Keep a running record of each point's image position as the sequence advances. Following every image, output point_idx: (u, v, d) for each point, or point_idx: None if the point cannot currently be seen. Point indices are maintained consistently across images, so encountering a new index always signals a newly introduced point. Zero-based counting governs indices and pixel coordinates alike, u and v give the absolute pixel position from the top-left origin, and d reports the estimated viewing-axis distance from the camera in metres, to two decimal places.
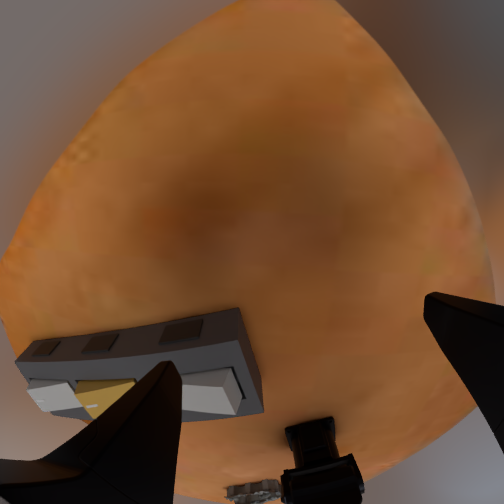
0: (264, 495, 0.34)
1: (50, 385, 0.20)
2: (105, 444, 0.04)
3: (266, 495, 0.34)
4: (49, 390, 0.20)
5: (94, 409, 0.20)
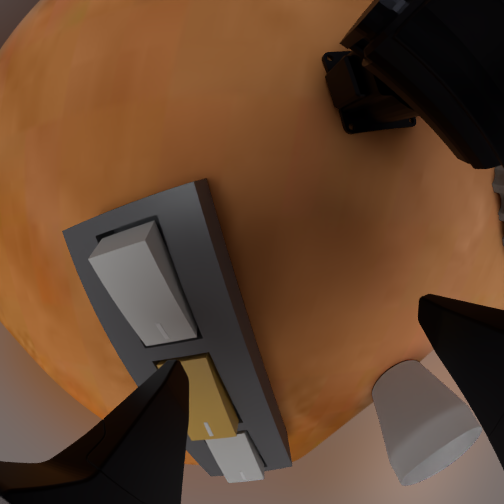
0: None
1: (214, 456, 0.19)
2: (114, 445, 0.04)
3: None
4: (222, 460, 0.19)
5: (215, 428, 0.17)
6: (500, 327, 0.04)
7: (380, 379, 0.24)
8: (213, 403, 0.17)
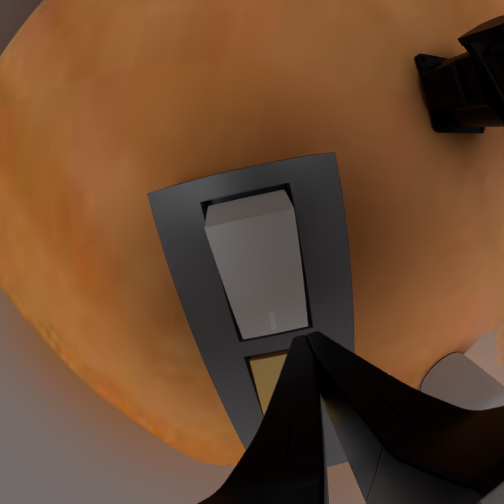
0: None
1: None
2: (314, 431, 0.04)
3: None
4: None
5: None
6: (356, 398, 0.04)
7: (432, 370, 0.22)
8: None
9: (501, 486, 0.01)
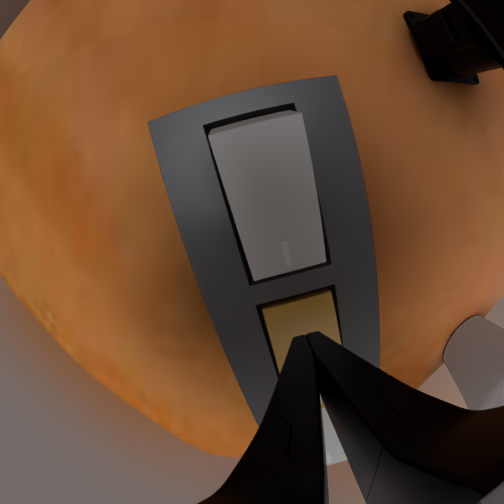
0: None
1: None
2: (314, 431, 0.04)
3: None
4: None
5: None
6: (356, 398, 0.04)
7: (454, 335, 0.21)
8: None
9: (501, 486, 0.01)
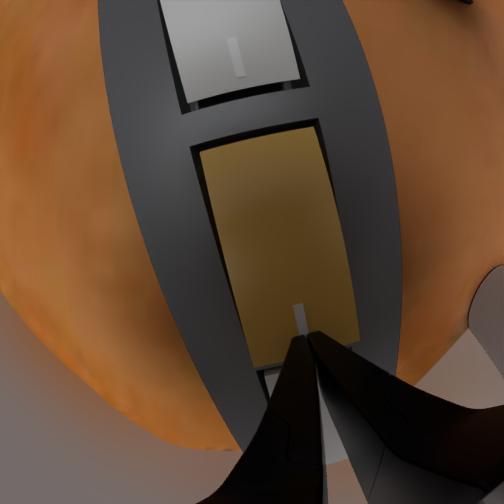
0: None
1: None
2: (313, 431, 0.04)
3: None
4: None
5: (318, 322, 0.08)
6: (358, 397, 0.04)
7: (481, 288, 0.15)
8: (323, 244, 0.08)
9: (503, 484, 0.01)
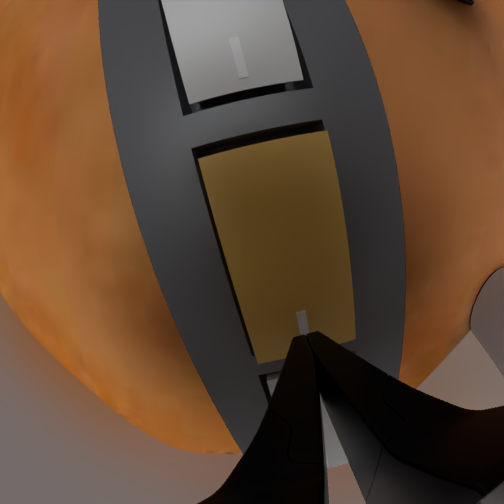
0: None
1: None
2: (314, 431, 0.04)
3: None
4: None
5: (319, 325, 0.09)
6: (356, 398, 0.04)
7: (483, 290, 0.15)
8: (328, 256, 0.08)
9: (501, 486, 0.01)
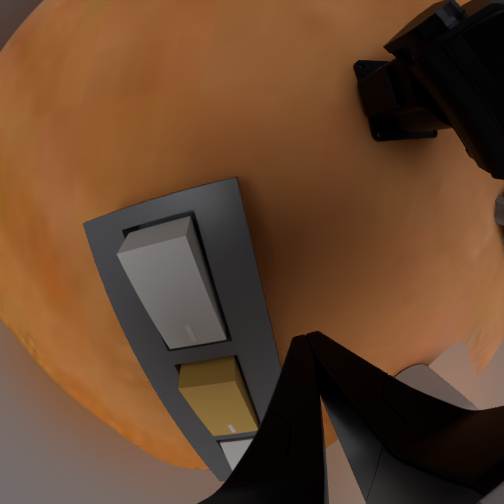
0: None
1: (228, 461, 0.19)
2: (314, 431, 0.04)
3: None
4: None
5: (238, 427, 0.17)
6: (356, 398, 0.04)
7: None
8: (239, 411, 0.16)
9: (501, 486, 0.01)
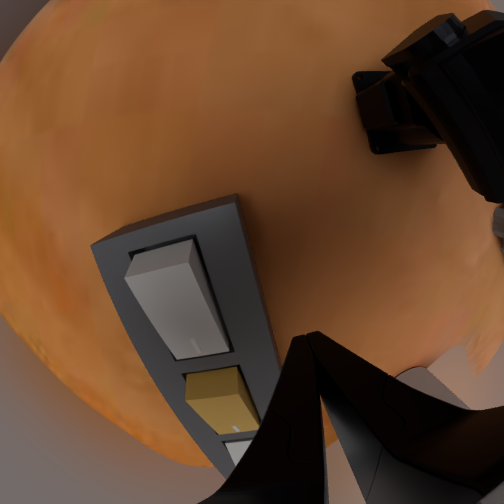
0: None
1: (233, 460, 0.20)
2: (314, 431, 0.04)
3: None
4: None
5: (242, 427, 0.19)
6: (356, 398, 0.04)
7: None
8: (242, 416, 0.17)
9: (501, 486, 0.01)
